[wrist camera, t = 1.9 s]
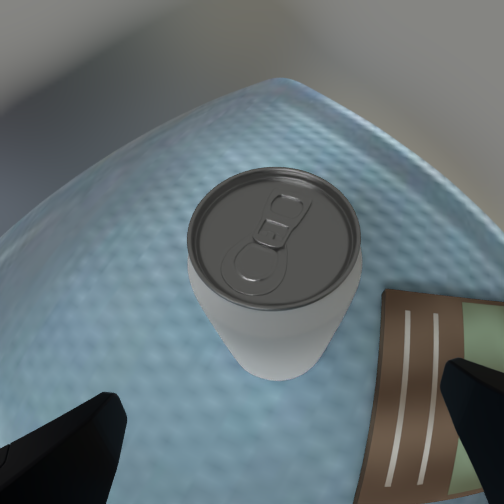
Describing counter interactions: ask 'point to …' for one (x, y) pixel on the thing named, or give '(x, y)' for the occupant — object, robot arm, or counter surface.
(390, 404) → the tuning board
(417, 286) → the counter surface
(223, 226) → the can
